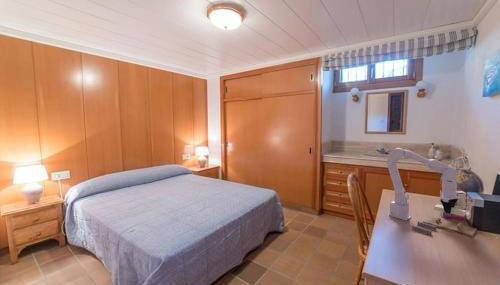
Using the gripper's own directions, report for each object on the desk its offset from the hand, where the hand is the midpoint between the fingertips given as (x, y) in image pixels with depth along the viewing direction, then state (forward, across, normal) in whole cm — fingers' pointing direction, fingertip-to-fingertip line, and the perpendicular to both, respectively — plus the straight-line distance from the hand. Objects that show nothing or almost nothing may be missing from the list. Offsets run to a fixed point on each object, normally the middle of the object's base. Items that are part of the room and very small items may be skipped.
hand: (448, 211), depth 116 cm
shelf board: (0, 0, 0) cm, 0 cm away
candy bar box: (+9, +18, +2) cm, 20 cm away
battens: (+9, -14, +7) cm, 18 cm away
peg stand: (+9, 0, 0) cm, 9 cm away
